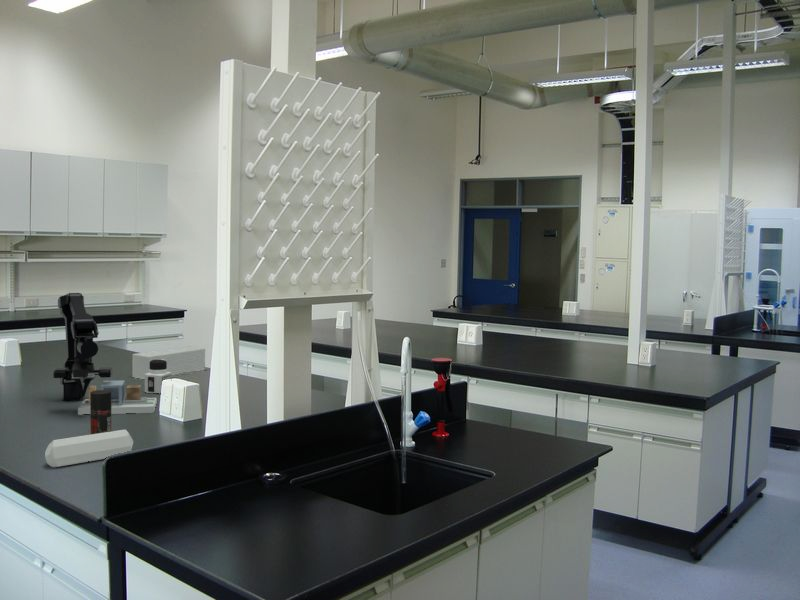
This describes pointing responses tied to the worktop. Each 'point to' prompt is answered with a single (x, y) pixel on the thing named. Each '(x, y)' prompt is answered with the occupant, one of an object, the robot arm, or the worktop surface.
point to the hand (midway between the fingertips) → (83, 396)
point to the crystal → (87, 448)
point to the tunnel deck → (120, 401)
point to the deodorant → (100, 411)
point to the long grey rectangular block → (170, 360)
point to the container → (156, 376)
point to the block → (133, 392)
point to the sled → (142, 399)
